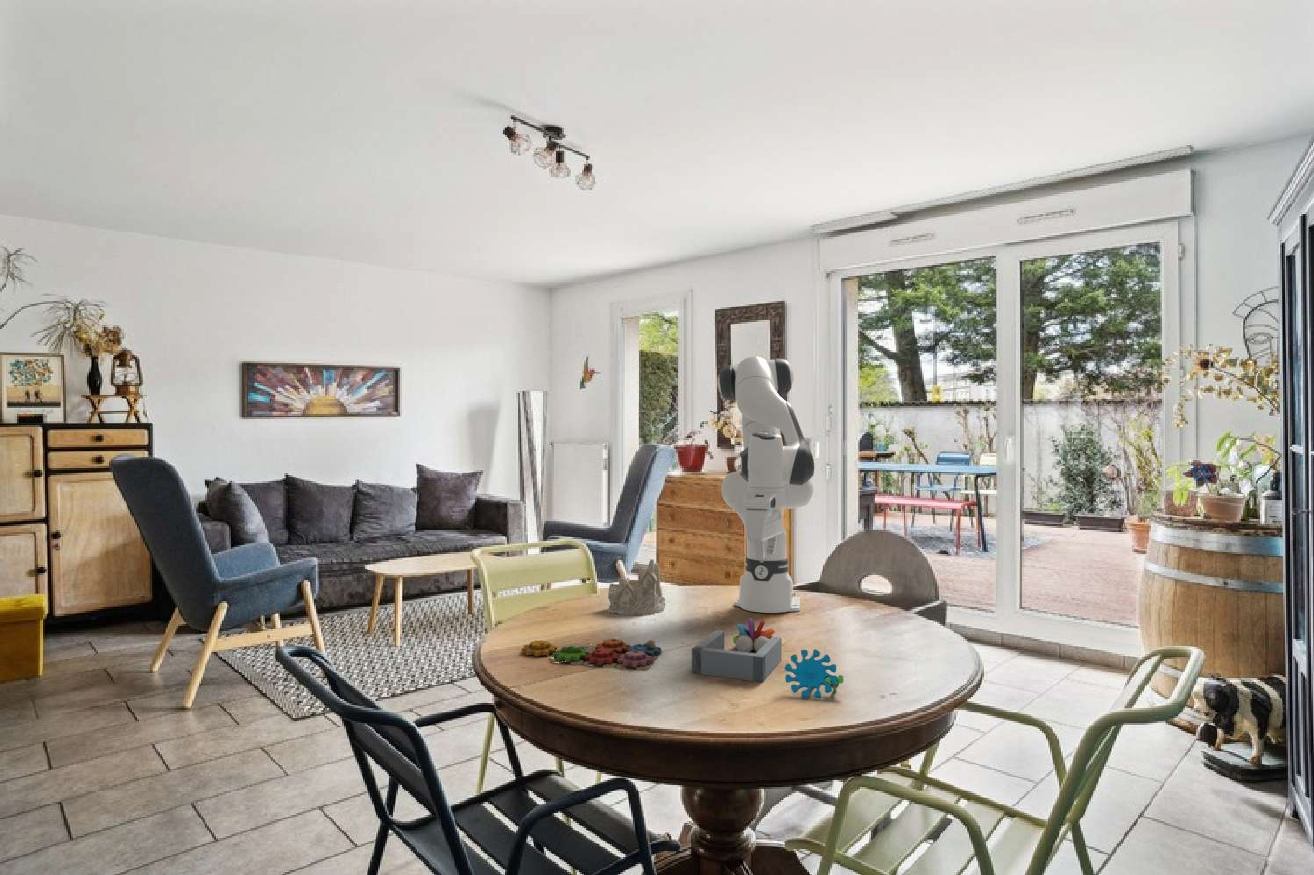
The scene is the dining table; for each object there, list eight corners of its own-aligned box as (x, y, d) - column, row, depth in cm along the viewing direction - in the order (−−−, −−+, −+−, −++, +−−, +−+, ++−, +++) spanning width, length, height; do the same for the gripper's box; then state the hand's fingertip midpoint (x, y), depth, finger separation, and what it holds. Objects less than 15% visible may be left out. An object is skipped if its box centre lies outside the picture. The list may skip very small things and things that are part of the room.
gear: (777, 687, 145) (791, 641, 151) (780, 701, 149) (793, 656, 155) (836, 703, 141) (848, 655, 147) (837, 718, 145) (848, 671, 151)
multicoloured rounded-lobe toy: (774, 657, 171) (775, 624, 171) (731, 654, 173) (731, 622, 173) (776, 646, 179) (776, 615, 179) (734, 644, 181) (735, 613, 181)
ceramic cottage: (670, 603, 223) (667, 551, 223) (658, 618, 207) (654, 563, 207) (619, 603, 227) (615, 553, 226) (602, 619, 211) (599, 564, 210)
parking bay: (715, 652, 174) (715, 630, 174) (781, 660, 168) (781, 637, 168) (691, 672, 159) (691, 648, 159) (762, 682, 153) (762, 657, 153)
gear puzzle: (509, 662, 167) (509, 644, 167) (538, 643, 183) (538, 626, 183) (648, 674, 160) (649, 654, 160) (666, 652, 175) (666, 634, 175)
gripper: (764, 496, 196) (764, 550, 196) (741, 501, 177) (740, 561, 177) (789, 496, 194) (788, 551, 194) (767, 502, 175) (767, 563, 175)
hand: (765, 556), depth 185 cm, fingers open, 8 cm apart
